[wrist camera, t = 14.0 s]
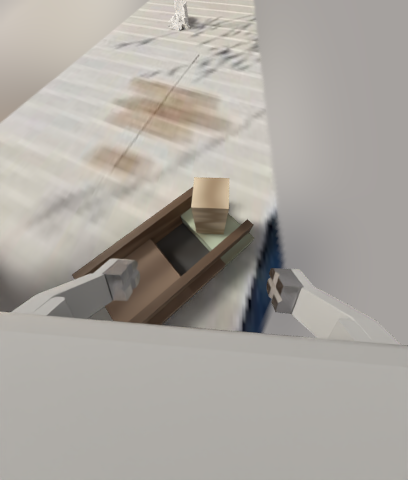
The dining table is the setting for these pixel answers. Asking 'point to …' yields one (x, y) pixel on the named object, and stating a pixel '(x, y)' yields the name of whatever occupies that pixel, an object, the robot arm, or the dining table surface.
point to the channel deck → (170, 261)
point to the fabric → (179, 15)
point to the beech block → (210, 204)
